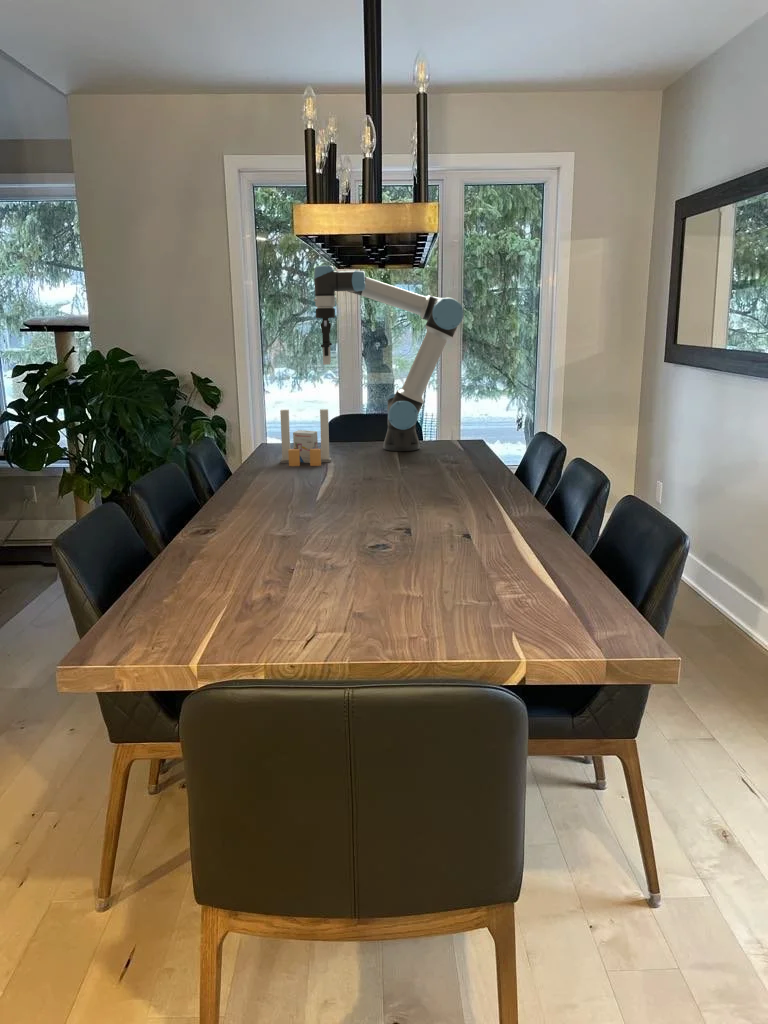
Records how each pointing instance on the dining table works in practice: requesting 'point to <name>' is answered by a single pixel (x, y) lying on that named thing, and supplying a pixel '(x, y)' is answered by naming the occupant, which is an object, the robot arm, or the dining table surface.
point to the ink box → (305, 443)
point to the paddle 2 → (315, 457)
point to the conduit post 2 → (324, 435)
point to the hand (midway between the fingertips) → (327, 363)
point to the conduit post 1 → (285, 435)
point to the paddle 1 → (294, 457)
